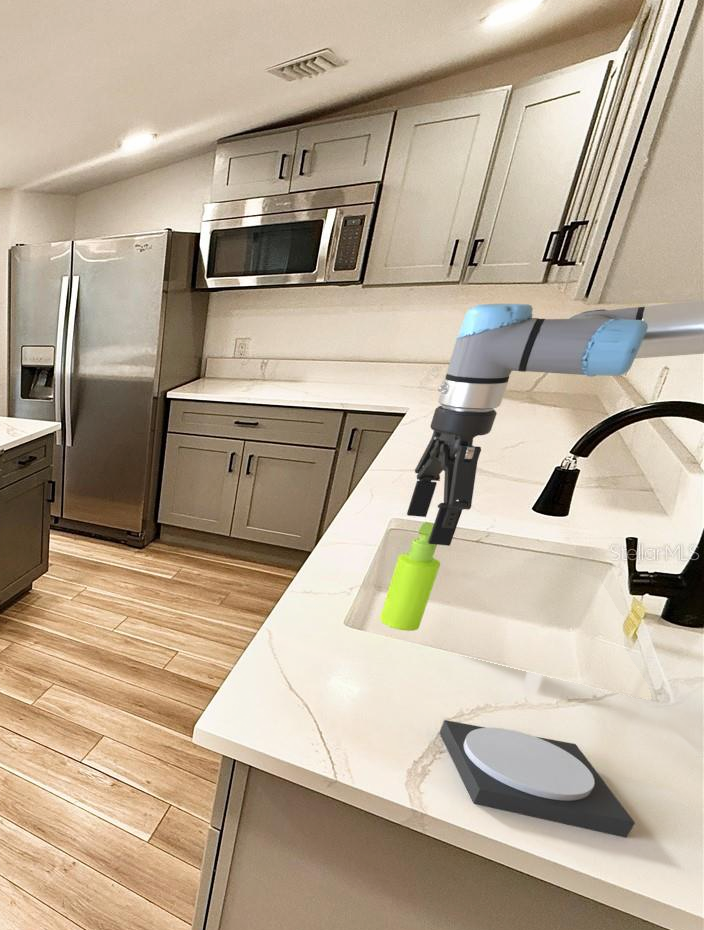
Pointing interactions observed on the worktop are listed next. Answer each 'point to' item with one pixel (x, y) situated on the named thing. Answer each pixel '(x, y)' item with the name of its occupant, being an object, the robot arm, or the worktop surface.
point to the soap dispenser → (411, 584)
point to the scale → (533, 777)
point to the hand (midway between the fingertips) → (426, 529)
